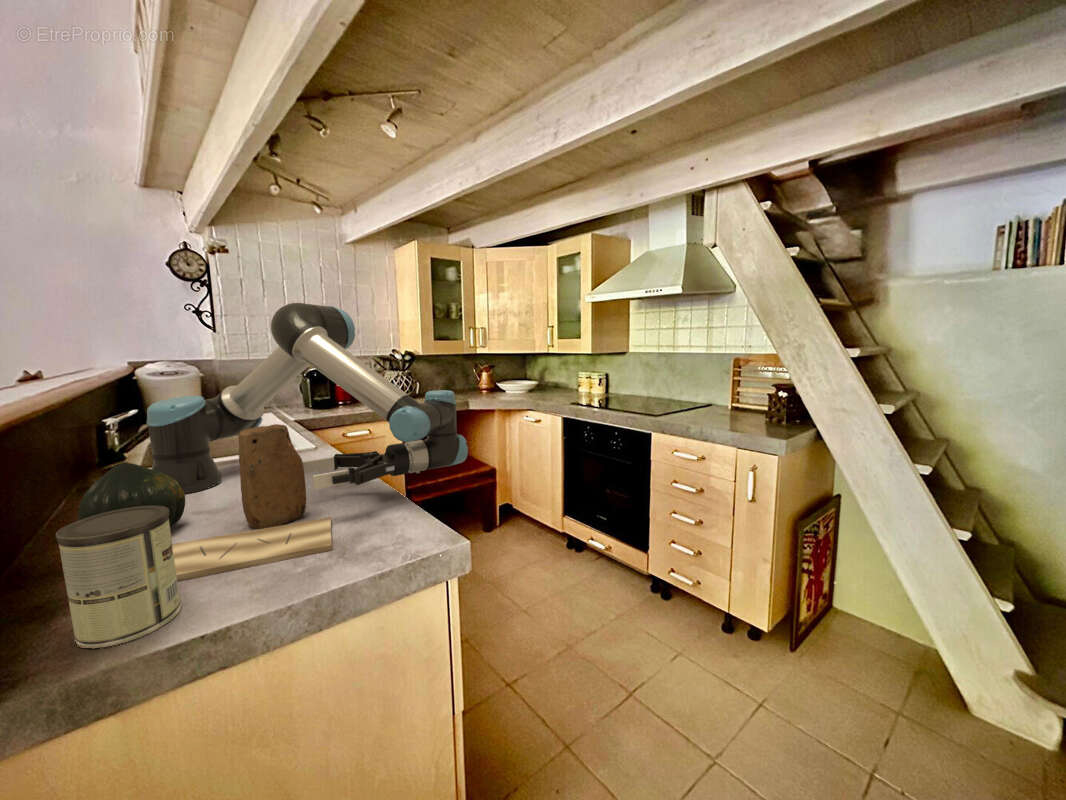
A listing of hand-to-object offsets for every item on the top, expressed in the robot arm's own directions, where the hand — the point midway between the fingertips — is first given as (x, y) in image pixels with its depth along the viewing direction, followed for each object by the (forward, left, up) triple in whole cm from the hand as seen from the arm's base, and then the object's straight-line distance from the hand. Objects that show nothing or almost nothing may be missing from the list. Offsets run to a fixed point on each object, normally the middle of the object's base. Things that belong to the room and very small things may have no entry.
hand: (307, 474), depth 91 cm
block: (+1, -6, -9) cm, 11 cm away
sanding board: (+14, -10, -9) cm, 19 cm away
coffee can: (+31, -20, -9) cm, 38 cm away
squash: (-4, -30, -9) cm, 32 cm away
